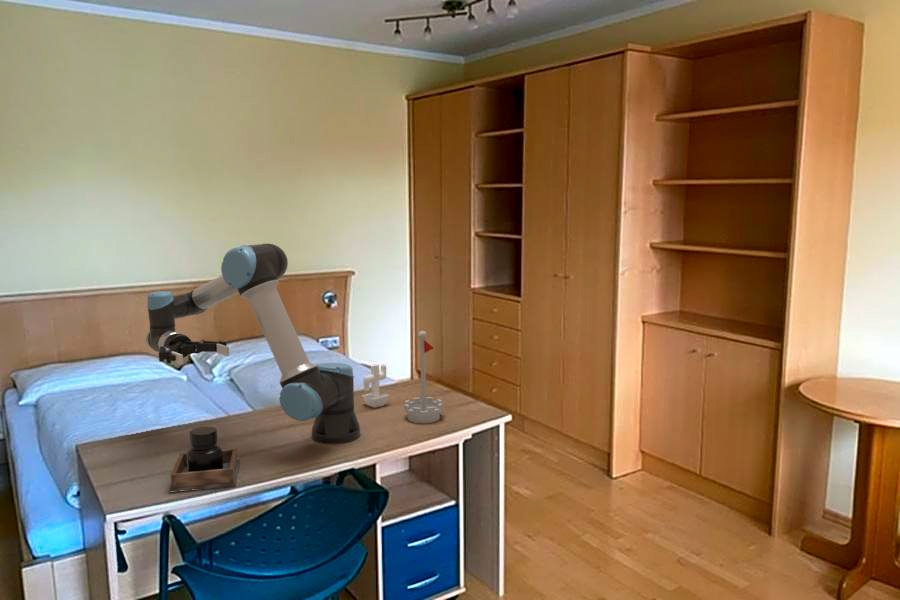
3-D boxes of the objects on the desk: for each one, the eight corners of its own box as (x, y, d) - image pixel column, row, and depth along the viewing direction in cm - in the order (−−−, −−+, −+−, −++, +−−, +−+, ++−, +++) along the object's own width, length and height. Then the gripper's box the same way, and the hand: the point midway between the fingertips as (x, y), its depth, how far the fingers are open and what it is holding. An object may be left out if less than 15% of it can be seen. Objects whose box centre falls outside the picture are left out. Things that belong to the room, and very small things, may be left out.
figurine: (359, 405, 239) (357, 365, 237) (379, 400, 246) (378, 360, 243) (371, 410, 234) (370, 368, 232) (392, 404, 240) (391, 364, 238)
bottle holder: (239, 462, 188) (238, 447, 188) (235, 486, 173) (234, 469, 172) (179, 468, 185) (178, 453, 184) (169, 493, 169) (168, 476, 169)
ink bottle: (208, 464, 185) (205, 422, 183) (231, 469, 181) (229, 427, 179) (179, 477, 176) (176, 433, 175) (203, 483, 172) (200, 439, 171)
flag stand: (396, 418, 225) (394, 331, 221) (423, 409, 235) (422, 325, 230) (424, 427, 217) (422, 336, 212) (450, 417, 226) (450, 330, 222)
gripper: (215, 350, 216) (246, 360, 200) (134, 364, 198) (162, 376, 183) (213, 327, 214) (244, 336, 199) (132, 339, 197) (160, 350, 182)
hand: (205, 355), depth 191 cm, fingers open, 13 cm apart
